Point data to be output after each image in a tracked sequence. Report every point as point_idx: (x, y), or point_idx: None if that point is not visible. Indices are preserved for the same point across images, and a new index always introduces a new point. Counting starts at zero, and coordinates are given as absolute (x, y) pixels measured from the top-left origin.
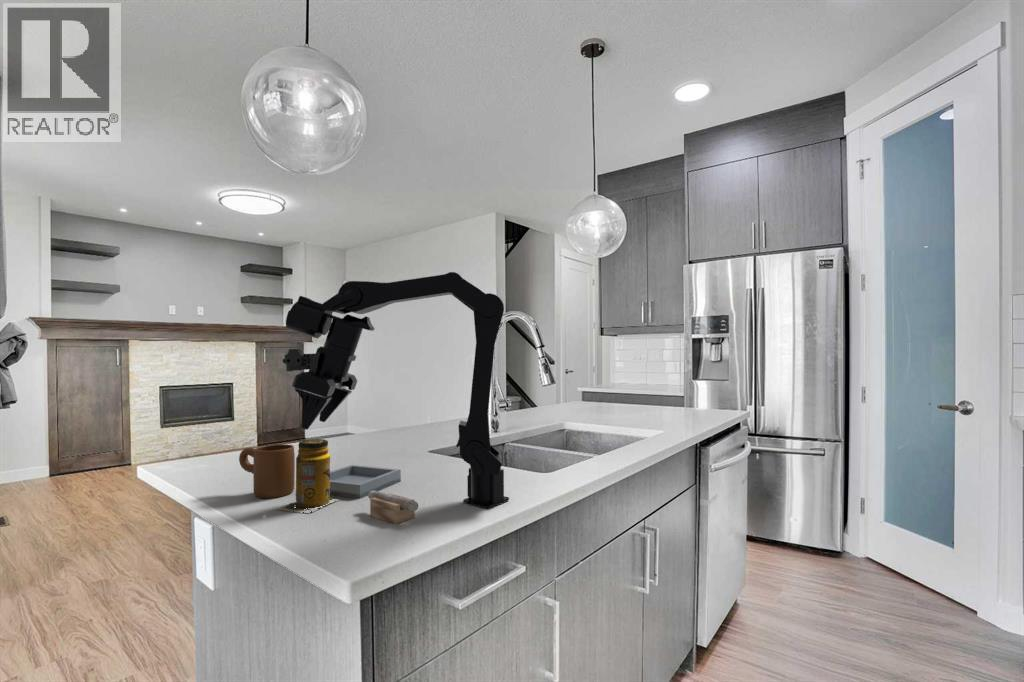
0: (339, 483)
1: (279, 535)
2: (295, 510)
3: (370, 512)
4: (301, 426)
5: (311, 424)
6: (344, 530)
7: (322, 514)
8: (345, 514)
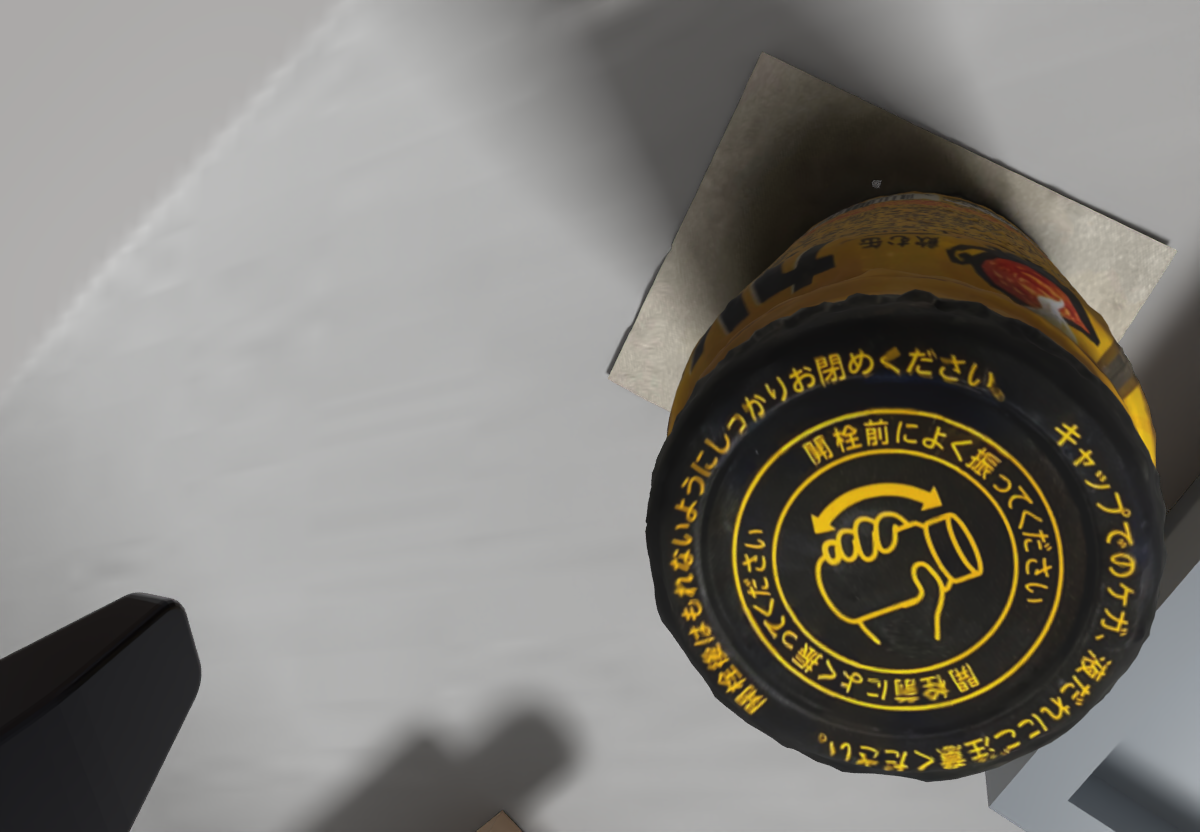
0: (1161, 599)
1: (195, 274)
2: (711, 236)
3: (491, 824)
4: (120, 599)
5: (137, 800)
6: (253, 662)
7: (585, 479)
8: (559, 645)
